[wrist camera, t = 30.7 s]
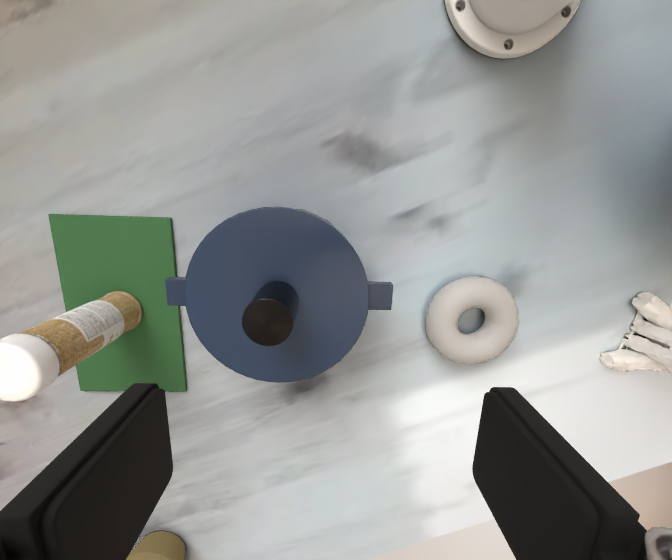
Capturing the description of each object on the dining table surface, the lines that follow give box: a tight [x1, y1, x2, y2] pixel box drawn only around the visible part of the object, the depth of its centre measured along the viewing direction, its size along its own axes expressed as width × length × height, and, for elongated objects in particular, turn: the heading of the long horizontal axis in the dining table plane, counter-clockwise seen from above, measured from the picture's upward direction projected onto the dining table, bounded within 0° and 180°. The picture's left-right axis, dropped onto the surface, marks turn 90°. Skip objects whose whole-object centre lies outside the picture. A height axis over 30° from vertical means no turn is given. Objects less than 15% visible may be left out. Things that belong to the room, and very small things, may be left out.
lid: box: [185, 207, 369, 382], centre depth 26 cm, size 16×16×6 cm
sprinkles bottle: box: [0, 291, 142, 401], centre depth 29 cm, size 5×5×14 cm
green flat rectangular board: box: [49, 214, 187, 392], centre depth 35 cm, size 20×12×1 cm, turn 178°
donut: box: [425, 276, 519, 364], centre depth 35 cm, size 10×4×10 cm
